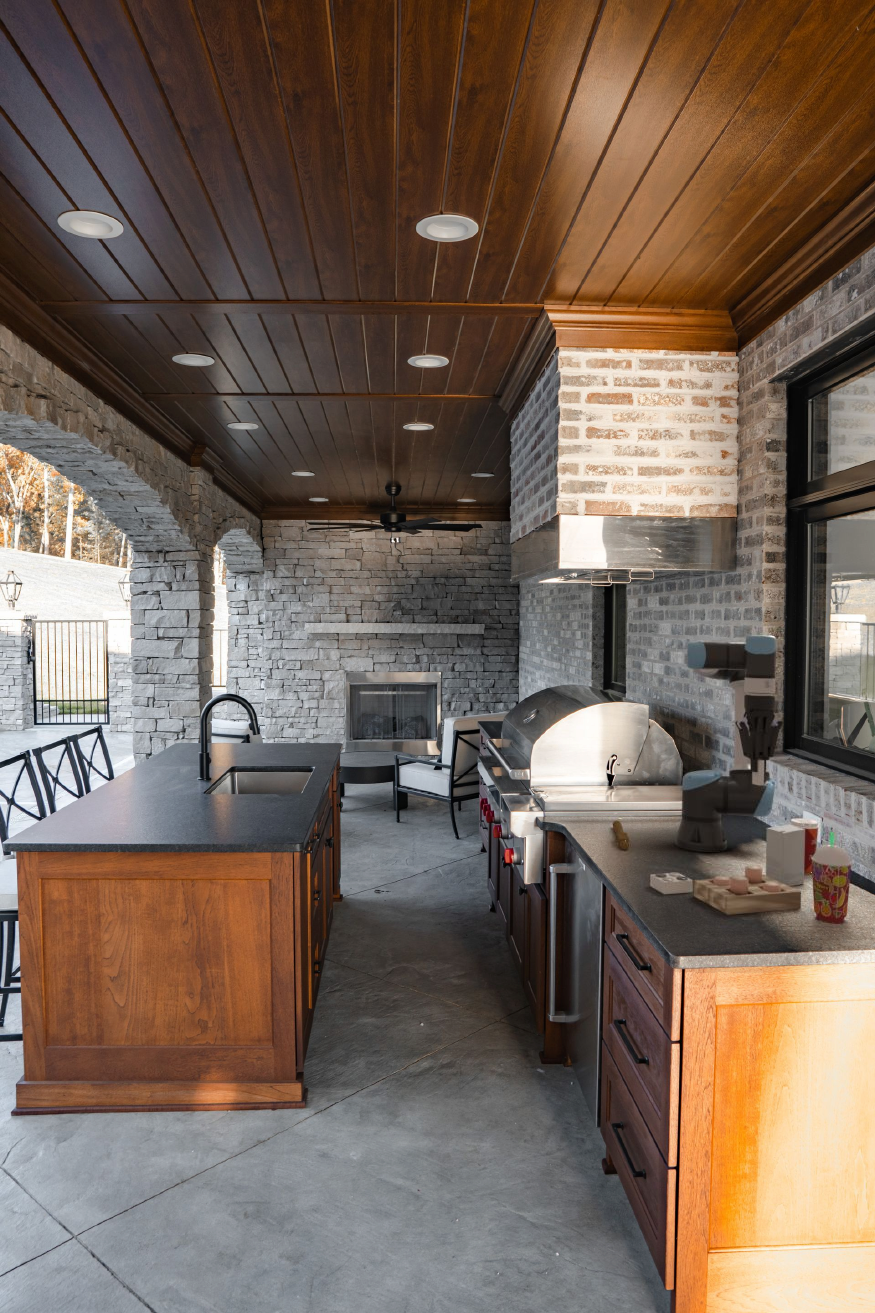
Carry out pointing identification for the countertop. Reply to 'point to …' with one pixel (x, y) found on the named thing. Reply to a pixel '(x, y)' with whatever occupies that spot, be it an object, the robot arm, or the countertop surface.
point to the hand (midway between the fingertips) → (757, 784)
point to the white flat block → (671, 883)
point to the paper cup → (808, 839)
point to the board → (747, 897)
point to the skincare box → (785, 854)
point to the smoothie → (831, 882)
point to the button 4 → (771, 887)
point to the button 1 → (721, 881)
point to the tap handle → (621, 836)
